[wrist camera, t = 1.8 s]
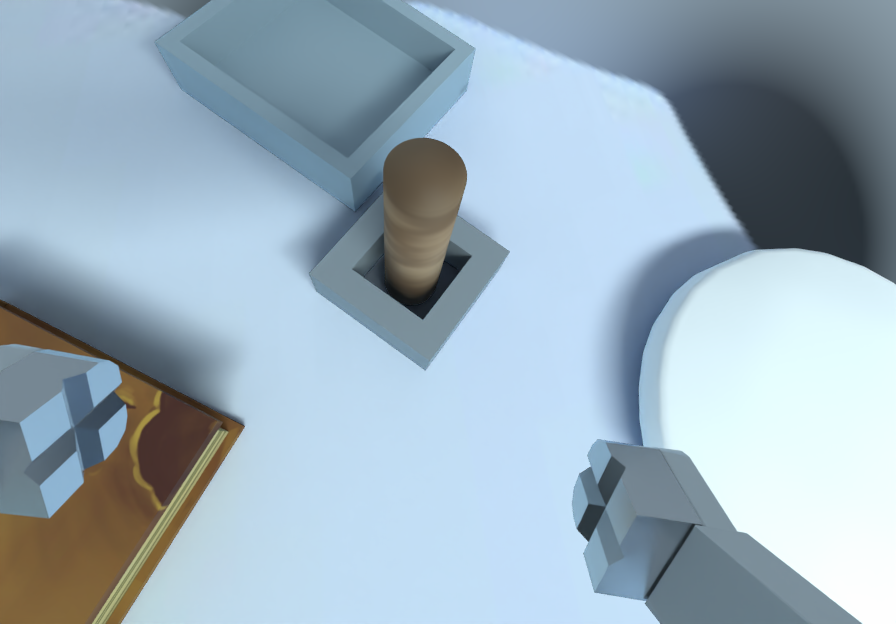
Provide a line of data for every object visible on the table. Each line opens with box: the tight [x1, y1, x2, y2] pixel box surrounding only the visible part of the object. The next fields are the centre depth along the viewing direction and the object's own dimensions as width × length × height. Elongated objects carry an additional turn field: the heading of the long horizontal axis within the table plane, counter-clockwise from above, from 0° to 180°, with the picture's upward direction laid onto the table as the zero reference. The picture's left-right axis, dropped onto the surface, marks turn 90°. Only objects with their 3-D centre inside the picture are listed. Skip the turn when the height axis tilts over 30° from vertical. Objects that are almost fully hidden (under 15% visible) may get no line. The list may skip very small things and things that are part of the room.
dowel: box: [383, 138, 467, 305], centre depth 28 cm, size 4×4×14 cm
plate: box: [639, 248, 896, 624], centre depth 33 cm, size 28×6×27 cm
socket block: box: [309, 193, 510, 370], centre depth 33 cm, size 10×10×4 cm
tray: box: [155, 0, 476, 211], centre depth 37 cm, size 18×16×4 cm
